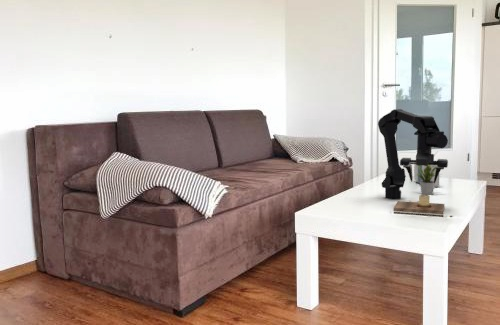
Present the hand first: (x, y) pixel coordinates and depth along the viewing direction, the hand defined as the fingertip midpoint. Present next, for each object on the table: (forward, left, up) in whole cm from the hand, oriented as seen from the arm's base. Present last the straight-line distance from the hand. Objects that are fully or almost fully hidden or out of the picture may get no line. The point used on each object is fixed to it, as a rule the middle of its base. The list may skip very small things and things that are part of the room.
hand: (423, 182), depth 196 cm
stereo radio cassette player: (-2, +63, -12) cm, 65 cm away
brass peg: (+1, -7, -12) cm, 13 cm away
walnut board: (-1, -1, -12) cm, 12 cm away
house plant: (+1, +34, -12) cm, 36 cm away
